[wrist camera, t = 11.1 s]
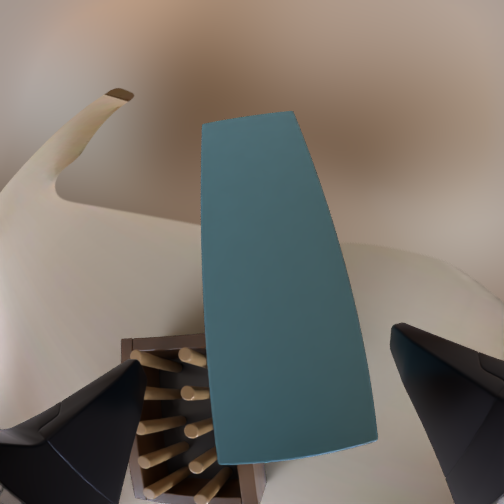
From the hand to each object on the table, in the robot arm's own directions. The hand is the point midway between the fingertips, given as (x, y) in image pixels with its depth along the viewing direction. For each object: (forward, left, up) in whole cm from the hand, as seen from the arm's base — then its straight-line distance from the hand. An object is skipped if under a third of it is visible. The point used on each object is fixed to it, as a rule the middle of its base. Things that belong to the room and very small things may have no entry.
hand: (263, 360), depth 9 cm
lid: (+1, +1, -9) cm, 9 cm away
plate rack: (-6, 0, -9) cm, 11 cm away
